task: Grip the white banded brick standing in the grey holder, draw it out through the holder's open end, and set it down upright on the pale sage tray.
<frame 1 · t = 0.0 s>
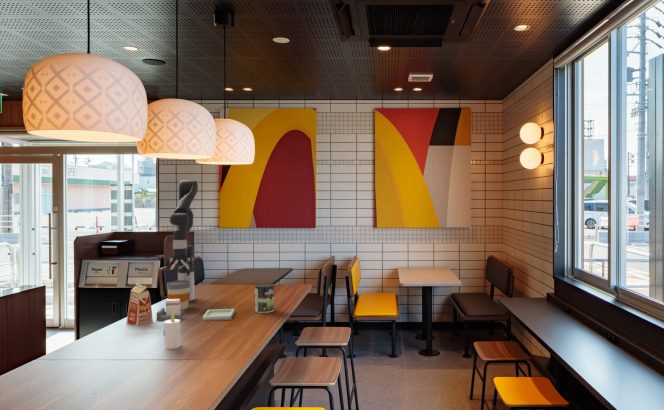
hand: (180, 275, 246), 17 cm above the table, tool pointing down, fingers open, 8 cm apart
white banded brick: (173, 317, 220), point 1 cm above the table, touching grey holder
tray: (219, 316, 222), on the table
candle: (172, 346, 178), on the table
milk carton: (140, 324, 212), on the table
reusable coffee cup: (179, 309, 239), on the table
coffee can: (264, 311, 232), on the table
grey holder: (171, 318, 220), on the table
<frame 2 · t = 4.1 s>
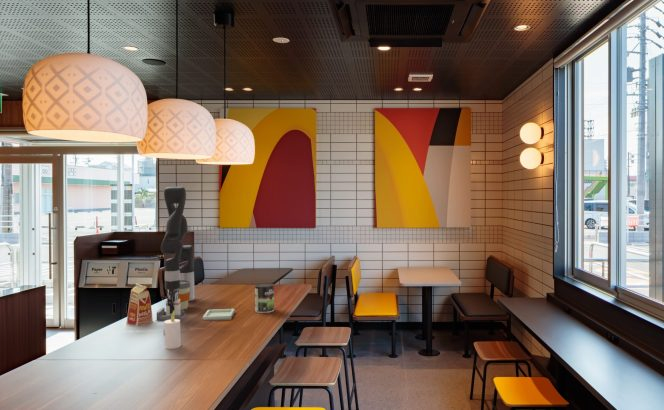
hand: (173, 312, 220), 3 cm above the table, tool pointing down, fingers closed on white banded brick, 4 cm apart
white banded brick: (173, 317, 220), point 1 cm above the table, touching grey holder, gripper
everything else where it was.
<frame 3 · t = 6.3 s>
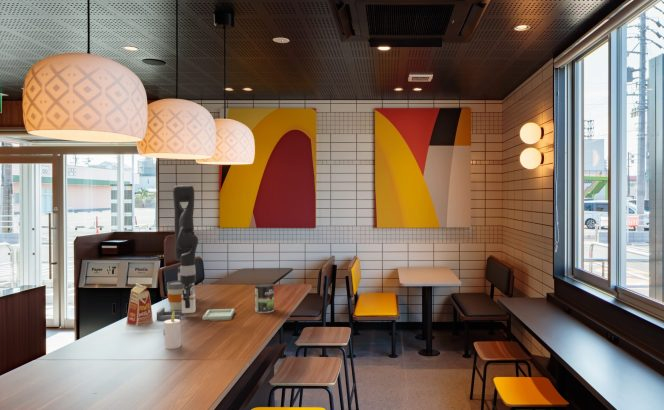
hand: (188, 306, 221), 6 cm above the table, tool pointing down, fingers closed on white banded brick, 4 cm apart
white banded brick: (188, 311, 221), point 3 cm above the table, touching gripper
everything else where it was.
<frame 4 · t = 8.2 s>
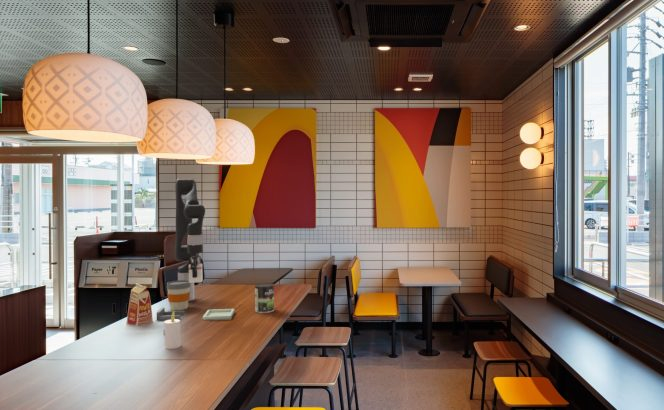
hand: (195, 276, 221), 21 cm above the table, tool pointing down, fingers closed on white banded brick, 4 cm apart
white banded brick: (195, 281, 221), point 19 cm above the table, touching gripper
everything else where it was.
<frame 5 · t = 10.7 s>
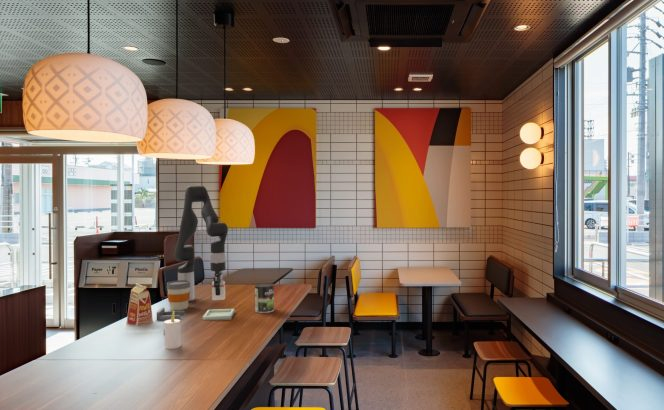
hand: (218, 294, 222), 12 cm above the table, tool pointing down, fingers closed on white banded brick, 4 cm apart
white banded brick: (218, 299, 222), point 9 cm above the table, touching gripper
everything else where it was.
when the fingers open (5 cm above the table, at t = 12.7 s): white banded brick drops 2 cm, resting on tray.
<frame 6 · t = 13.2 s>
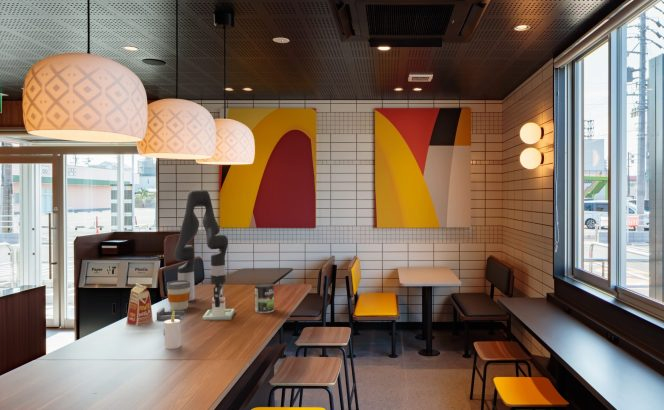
hand: (218, 304, 222), 6 cm above the table, tool pointing down, fingers open, 8 cm apart
white banded brick: (218, 315, 222), point 1 cm above the table, touching tray
everything else where it was.
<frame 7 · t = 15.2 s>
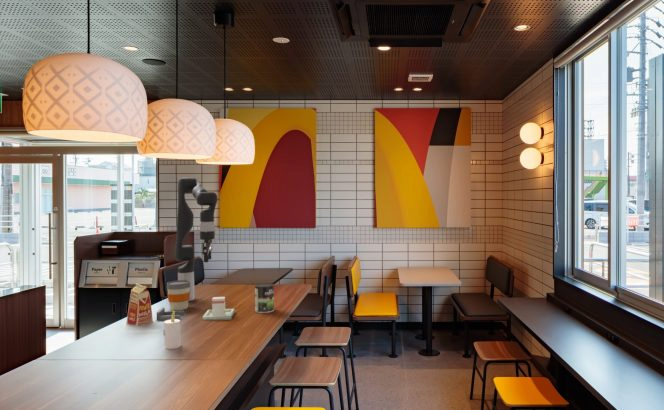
hand: (207, 260, 225), 29 cm above the table, tool pointing down, fingers open, 8 cm apart
nothing on the table moved.
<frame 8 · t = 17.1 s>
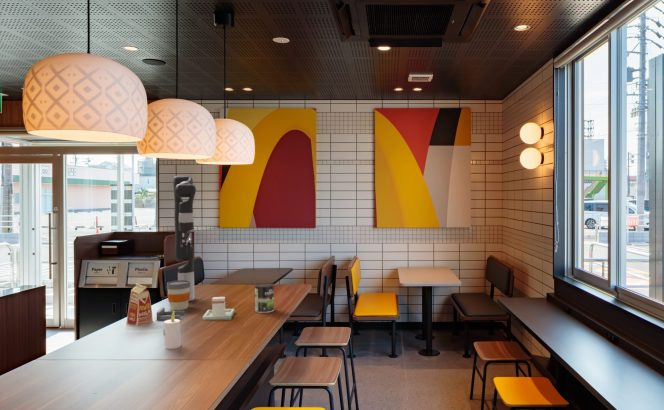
hand: (186, 251, 230), 33 cm above the table, tool pointing down, fingers open, 8 cm apart
nothing on the table moved.
at the end: white banded brick inside the target area on the tray (0.2 cm from its centre), point 0.8 cm above the tray's base; white banded brick tilted 0°; the gripper is holding nothing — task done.
